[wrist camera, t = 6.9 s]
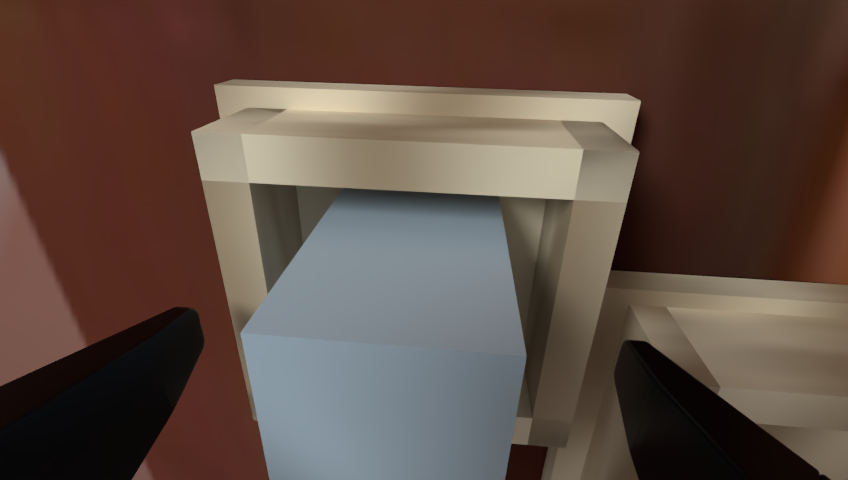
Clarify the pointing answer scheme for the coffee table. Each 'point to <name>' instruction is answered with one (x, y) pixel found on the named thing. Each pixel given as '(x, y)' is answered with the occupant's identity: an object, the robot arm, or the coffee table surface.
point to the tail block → (391, 343)
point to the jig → (528, 252)
